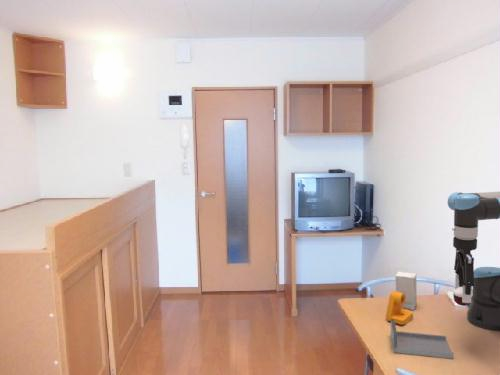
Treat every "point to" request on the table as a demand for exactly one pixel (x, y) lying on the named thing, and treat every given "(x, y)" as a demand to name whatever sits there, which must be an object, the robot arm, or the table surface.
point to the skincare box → (407, 288)
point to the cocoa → (460, 290)
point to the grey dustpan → (419, 344)
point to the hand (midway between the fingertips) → (462, 296)
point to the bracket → (398, 309)
